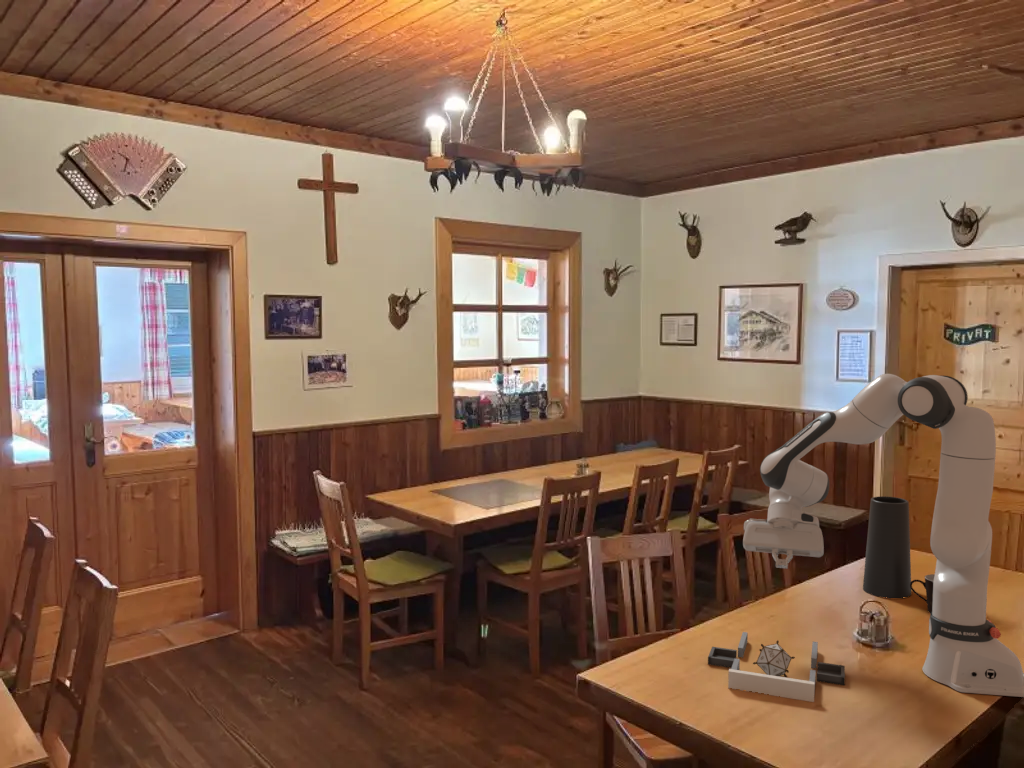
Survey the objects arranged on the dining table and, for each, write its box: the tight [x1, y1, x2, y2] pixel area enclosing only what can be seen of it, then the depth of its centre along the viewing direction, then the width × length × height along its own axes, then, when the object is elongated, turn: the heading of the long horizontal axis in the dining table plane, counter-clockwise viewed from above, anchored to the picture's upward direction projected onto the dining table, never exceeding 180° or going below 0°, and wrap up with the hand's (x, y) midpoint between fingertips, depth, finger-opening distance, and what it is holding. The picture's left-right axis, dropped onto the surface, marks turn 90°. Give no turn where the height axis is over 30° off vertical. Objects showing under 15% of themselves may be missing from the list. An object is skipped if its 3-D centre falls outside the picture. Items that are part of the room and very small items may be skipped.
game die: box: [752, 639, 796, 678], centre depth 189 cm, size 9×8×10 cm
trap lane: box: [707, 631, 846, 703], centre depth 193 cm, size 31×29×4 cm
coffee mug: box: [910, 573, 935, 614], centre depth 231 cm, size 12×9×10 cm
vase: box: [862, 495, 912, 599], centre depth 248 cm, size 14×14×29 cm
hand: (781, 567), depth 207 cm, fingers closed
